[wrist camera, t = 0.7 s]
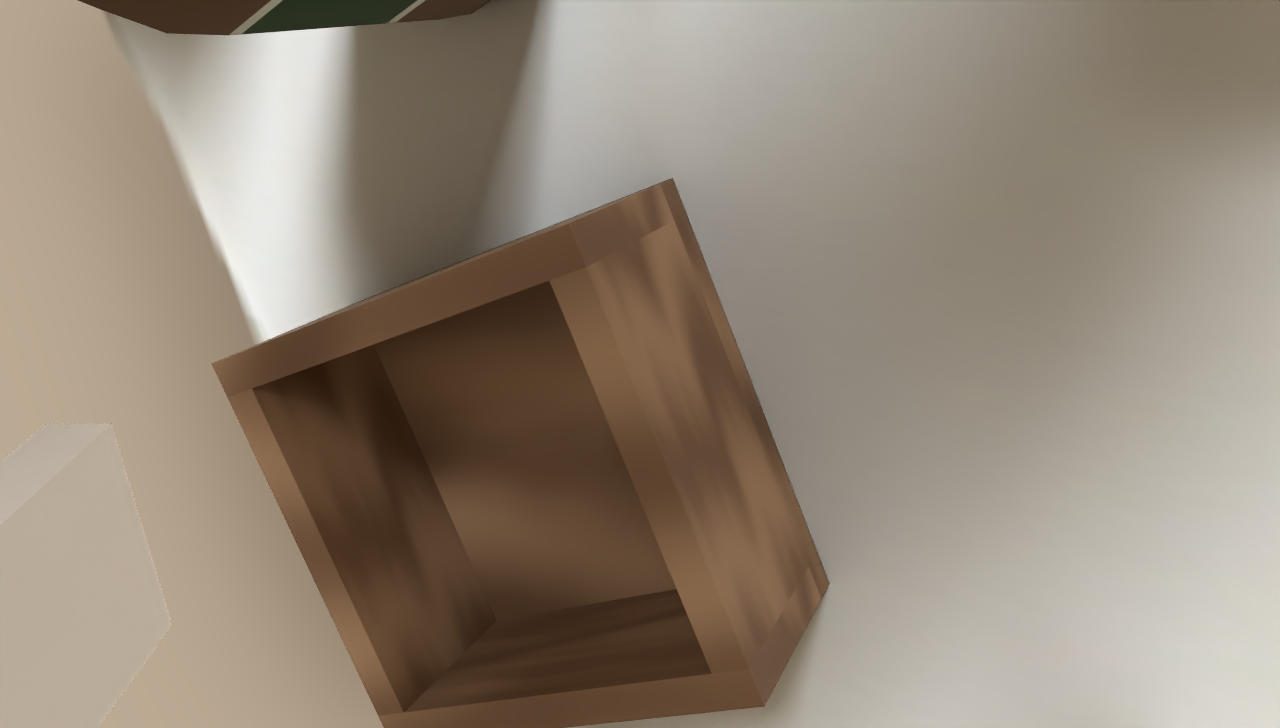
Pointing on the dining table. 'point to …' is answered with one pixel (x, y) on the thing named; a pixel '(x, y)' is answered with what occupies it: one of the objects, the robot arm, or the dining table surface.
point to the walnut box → (539, 483)
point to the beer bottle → (277, 13)
